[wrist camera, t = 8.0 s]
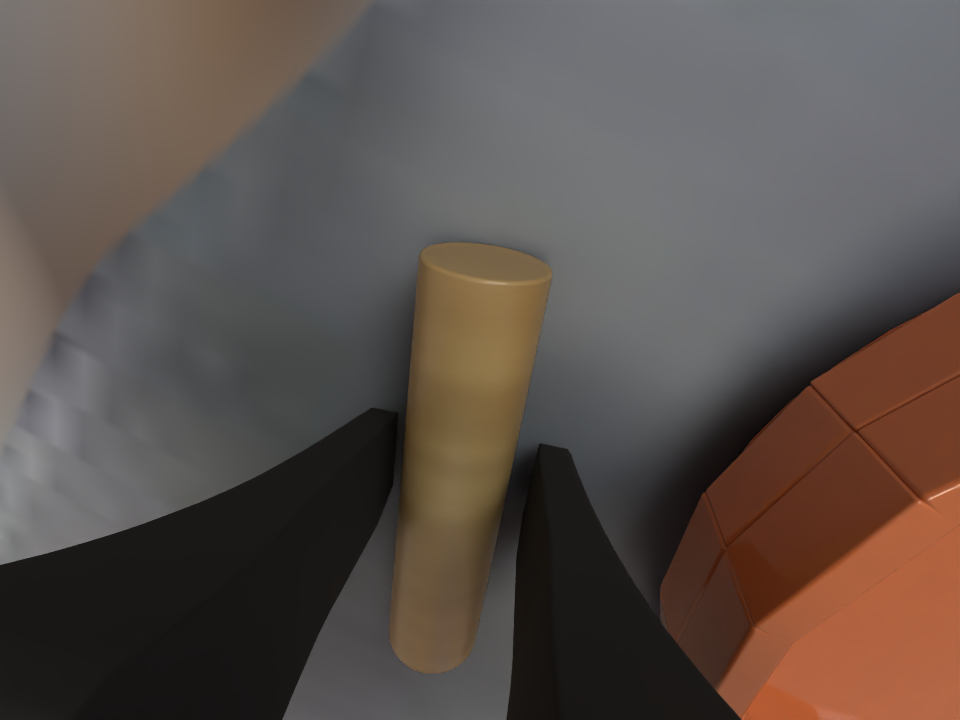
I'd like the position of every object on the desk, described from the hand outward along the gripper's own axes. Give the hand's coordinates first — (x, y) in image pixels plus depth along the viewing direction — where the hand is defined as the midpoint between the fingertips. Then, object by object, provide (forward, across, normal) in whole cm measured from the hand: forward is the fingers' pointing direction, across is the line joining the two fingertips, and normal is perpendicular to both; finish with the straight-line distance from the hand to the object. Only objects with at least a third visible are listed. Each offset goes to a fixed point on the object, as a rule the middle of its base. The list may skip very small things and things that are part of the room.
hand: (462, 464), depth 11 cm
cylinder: (0, 0, 0) cm, 0 cm away
